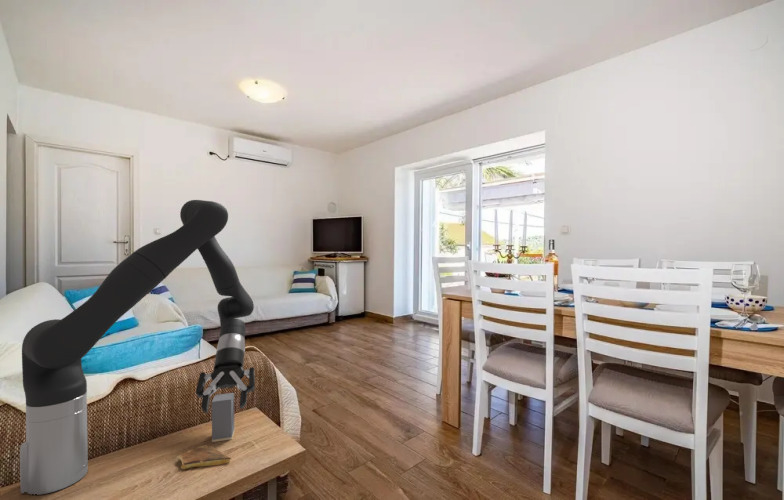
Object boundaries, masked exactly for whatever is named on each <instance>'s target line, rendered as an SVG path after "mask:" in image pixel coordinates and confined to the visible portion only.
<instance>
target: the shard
mask: <svg viewBox="0 0 784 500" xmlns="http://www.w3.org/2000/svg"><path fill="white" fill-rule="evenodd" d="M177 459H178V460H180V462H181V465H180V468H181V470H186V469H192V468H194V467H195V468H197V467H210V466H216V465H217V466H218V465H223V464H229V463H230V461H231V460H232V457H230V456H228V455H226V454H224V453H223V452H221V451H220V450H219V449H217V448H215V447H213V446H210V445H208V444H206V445H200V446H196V447H194V448H192V449H189V450H187V451H185V452H183V453H181V454H179V455H178V456H177Z"/></svg>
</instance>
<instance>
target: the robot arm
mask: <svg viewBox="0 0 784 500" xmlns="http://www.w3.org/2000/svg"><path fill="white" fill-rule="evenodd" d="M179 213H180V214H179V215H180V220H181V223H182V225H181V226H180V227H179V228H178V229H176V230H174V231H173V232H171V233H169V234H166V235H164V236H163V237H160V238H157V239H155V240H153V241H151V242H149V243H147V244H145V245H143V246H141V247H139V248H138V249H136V250H135V251H133V252H132V253H131V254H130V255H128V256H127V257H126V258H125V259H123V260H122V261H121V262H119V263H118V264H117V266H115V267H113V269H112V270H111V271H110V272H109V274H108V275H107V276H106V277H105V279H103V281H102V283H101V284H100V286H99V287H98V288H97V289H96V291H95V292H94V293H93V294H92V295H91V296H90V297H89V298H88V299H87V300H86V301H85V302H83V303H82V304H81V305H80V306H78V307H77V308H75V309H74V310H73V311H71V312H70V313H69V314H68V315H65V317H63V318H61V319H48V320H45V321H43V322H39V323H38V324H36V325H34V326H33V327H31V328H30V329H29V330H28V331H27V333H26V334H25V336H24V337H23V340H22V344H21V366H22V367H21V369H22V373H21V374H22V387H23V391H24V395H25V441H24V442H23V443H21V445H20V446H19V450H20V451H19V453H20V454H19V456H20V457H19V463H20V464H19V465H20V466H19V467H20V468H19V469H20V480H19V481H20V494H21V493H22V494H25V493H24V492H27V493H26V494H29V495H32V494H34V495H33V496H37V495H38V496H39V495H45V494H50V493H54V492H57V491H60V490H62V489H65V488H67V487H70V486H72V485H74V484H75V483H77V482H78V481H80V480H82V479H83V478H84V477H85V476H86V474H87V473H88V471H89V470H88V466H89V460H88V451H89V450H88V398H87V397H88V394H87V393H88V391H87V390H88V389H87V388H88V386H87V385H88V384H87V379H86V376H85V374H84V371H83V365H82V358H84V357H85V356H86V355H87V354H88V353H89V352H90V351H91V350H92V348H94V346H95V345H97V343H98V342H99V340H101V338H103V336H104V335H105V334H107V332H108V330H110V329H111V328H112V326H114V325H115V324H116V322H117V321H118V320H120V318H122V317H123V316H124V315H125V314H126V313H128V312H129V311H130V310H131V309H132V308H134V307H135V306H136V305H137V304H138V303H139V302H141V300H142V299H143V298H144V297H146V296H147V295H148V294H150V293H151V291H153V290H155V288H156V287H157V286H158V285H159V284H161V283H162V282H163V281H164V280H165V279H166V278H167V277H168V276H169V275H170V274H171V273H172V272H173V271H174V270H176V269H177V267H179V266H180V265H181V264H182V263H183V262H184V261H185V260H187V259H188V258H189V257H190V256H191V255H193V253H194V252H196V251H197V250H198V252H199V254H200V255H201V257H202V259H203V262H204V263H205V265H206V267H207V270H208V272H209V274H210V277H211V280H212V282H213V285H214V287H215V290H216V292H217V294H218V295H220V296H222V297H224V298H222V299H221V300H219V302H218V304H217V313H218V317H219V318H218V319H219V324H220V325H219V326H220V330H219V331H220V332H219V337H218V338H219V339H218V343H217V345H216V353H215V358H214V364H213V365H214V366H213V371H212V372H211V373H205V372H204V371H202V372H200V373H199V377H198V380H197V381H198V382H197V385H196V389H195V394H196V396H197V398H200V399H201V398H202V400H201V410H202V411H203V412H204V413H205V414H206V413H209V406H210V401H211V398H210V397H212V396H213V394H215V393H216V392H217V391H218V390H220V389H221V390H224V389H227V388H228V389H231V388H234V387H236V388H237V389H239V390H240V398H239V409H243V408H244V407H245V406H247V401H248V400H247V399H248V394H249V393H250V392H254V391H256V390H255V388H256V387H255V386H256V385H255V384H256V383H255V382H256V381H255V380H256V379H255V378H256V377H255V376H256V375H255V373H256V372H255V368H254V367H252V366H251V367H250V368H249V369H244V363H245V362H244V361H245V360H244V359H245V353H246V349H245V348H246V342H245V337H246V323H245V321H244V320H242V319H240V318H244V317H249V316H251V314H252V313H253V312H254V308H255V304H254V301H253V299H252V297H251V296H250V294H249V293H248V292H247V291H246V289H245V288H244V287H243V285H242V283H241V282H240V279H239V276H238V273H237V270H236V267H235V266H234V263H233V262H232V260H231V259H230V257H229V255H227V254H226V252H225V251H224V250H223V248H222V247H221V245H220V243H219V242H218V240H217V238H216V236H217V235H218V234H220V232H222V231H223V230H224V228H225V227H226V226H227V223H228V221H229V212H228V209H227V208H226V207H225V205H223V204H222V203H218V202H217V201H212V200H211V201H210V200H202V199H191V200H189V201H186V202H185V203H184V204H183V205H182V207H181V209H180V212H179ZM244 376H246V377H247V378H248V381H249V382H248V383H249V385H247V386H246V385H245V384H244V382H243V380H242V379H243V377H244ZM209 380H211V382H210V383H209V385H208V387H206V389H205V386H206V383H207V382H208V381H209ZM35 494H37V495H35Z"/></svg>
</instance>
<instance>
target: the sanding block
mask: <svg viewBox="0 0 784 500" xmlns="http://www.w3.org/2000/svg"><path fill="white" fill-rule="evenodd" d="M235 431H236V429H235V392H228V393H221V394H215V395H214V396H213V399H212V400H211V443H216V442H221V441H229V440H233V437H234V434H235Z"/></svg>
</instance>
